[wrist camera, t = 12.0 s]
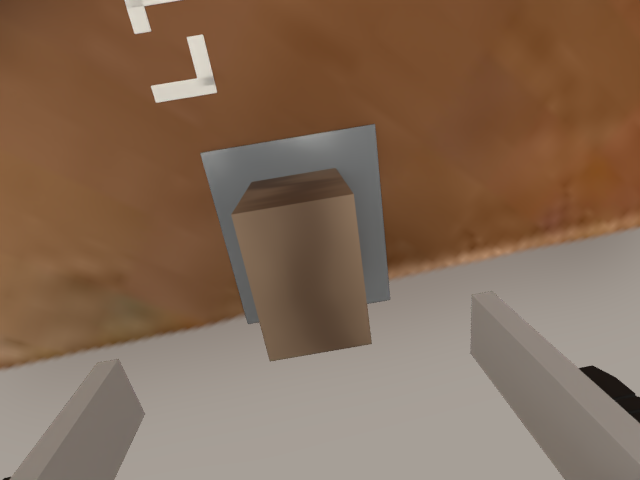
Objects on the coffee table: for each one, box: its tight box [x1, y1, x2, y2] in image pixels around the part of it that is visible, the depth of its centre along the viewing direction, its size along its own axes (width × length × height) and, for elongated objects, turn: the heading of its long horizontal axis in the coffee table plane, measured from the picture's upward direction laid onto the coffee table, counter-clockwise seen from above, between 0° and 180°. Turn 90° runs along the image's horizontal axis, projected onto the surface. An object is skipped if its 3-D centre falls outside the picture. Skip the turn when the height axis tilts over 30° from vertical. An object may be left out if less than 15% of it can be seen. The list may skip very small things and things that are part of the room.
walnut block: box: [231, 168, 372, 361], centre depth 22 cm, size 6×9×8 cm, turn 9°
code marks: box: [124, 0, 217, 103], centre depth 20 cm, size 4×8×1 cm, turn 9°
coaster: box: [200, 124, 390, 324], centre depth 25 cm, size 12×14×1 cm
